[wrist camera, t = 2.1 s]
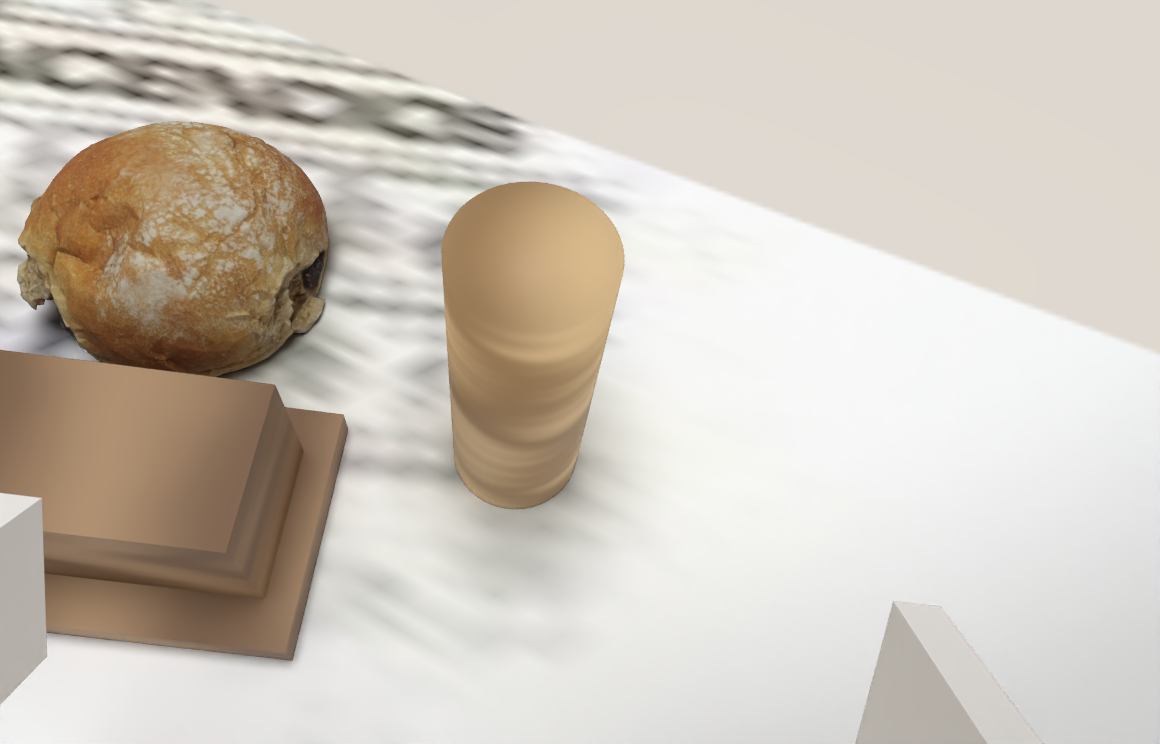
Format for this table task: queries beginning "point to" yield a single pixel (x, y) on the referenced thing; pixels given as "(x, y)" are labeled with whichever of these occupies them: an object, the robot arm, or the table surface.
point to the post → (525, 334)
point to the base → (169, 501)
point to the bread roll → (178, 249)
